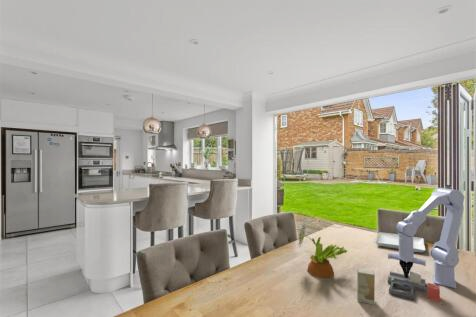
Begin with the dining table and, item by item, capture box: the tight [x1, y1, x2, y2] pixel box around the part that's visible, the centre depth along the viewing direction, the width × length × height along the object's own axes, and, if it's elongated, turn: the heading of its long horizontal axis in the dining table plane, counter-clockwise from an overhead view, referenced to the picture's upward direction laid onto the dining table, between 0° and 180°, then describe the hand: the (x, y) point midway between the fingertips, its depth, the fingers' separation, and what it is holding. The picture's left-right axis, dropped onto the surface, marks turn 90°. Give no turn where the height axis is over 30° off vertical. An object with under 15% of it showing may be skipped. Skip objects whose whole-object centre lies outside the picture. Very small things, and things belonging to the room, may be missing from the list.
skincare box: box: [356, 267, 376, 305], centre depth 103 cm, size 6×4×12 cm
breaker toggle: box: [409, 270, 422, 284], centre depth 114 cm, size 4×4×4 cm
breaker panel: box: [387, 270, 426, 293], centre depth 117 cm, size 10×14×2 cm
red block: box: [426, 282, 441, 302], centre depth 104 cm, size 4×4×5 cm
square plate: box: [374, 231, 427, 254], centre depth 169 cm, size 27×27×4 cm
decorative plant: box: [297, 223, 348, 279], centre depth 128 cm, size 27×24×25 cm
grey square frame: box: [388, 281, 415, 301], centre depth 109 cm, size 8×8×2 cm
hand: (406, 277), depth 117 cm, fingers closed
